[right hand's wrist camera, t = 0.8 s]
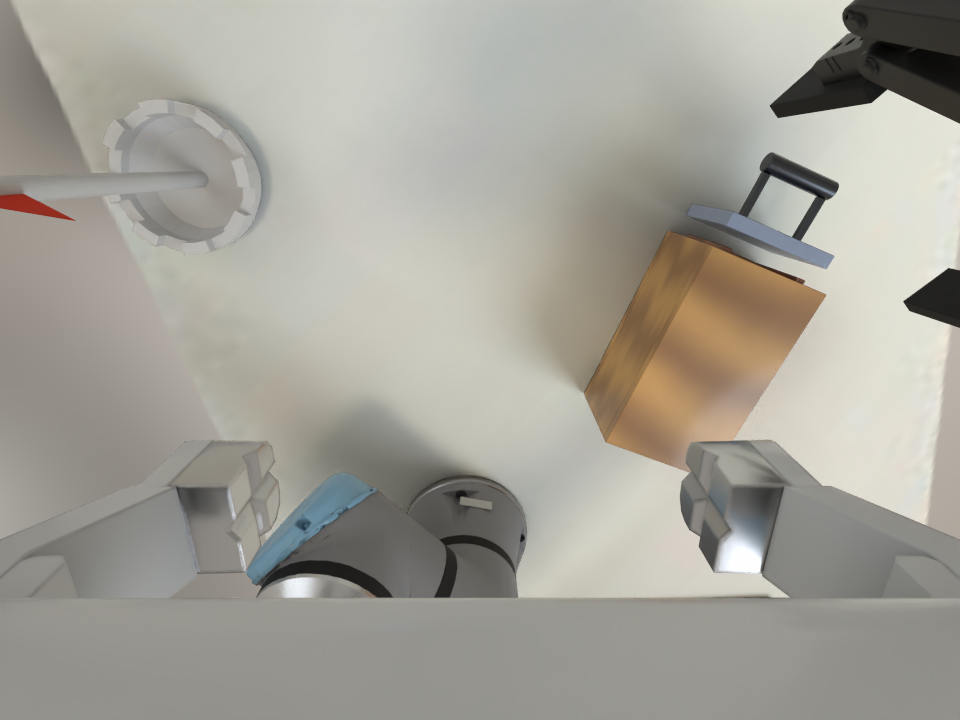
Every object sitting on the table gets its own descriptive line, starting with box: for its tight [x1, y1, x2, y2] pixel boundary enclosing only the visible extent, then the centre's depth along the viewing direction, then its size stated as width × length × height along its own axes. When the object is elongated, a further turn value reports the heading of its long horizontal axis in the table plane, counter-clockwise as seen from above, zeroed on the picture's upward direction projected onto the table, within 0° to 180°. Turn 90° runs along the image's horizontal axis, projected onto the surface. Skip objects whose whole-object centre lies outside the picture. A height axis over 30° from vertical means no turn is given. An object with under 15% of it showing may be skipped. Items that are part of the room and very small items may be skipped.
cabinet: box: [584, 231, 826, 472], centre depth 52 cm, size 20×11×11 cm, turn 158°
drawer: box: [686, 152, 839, 284], centre depth 50 cm, size 24×10×9 cm, turn 158°
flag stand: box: [0, 99, 262, 255], centre depth 37 cm, size 13×13×30 cm
